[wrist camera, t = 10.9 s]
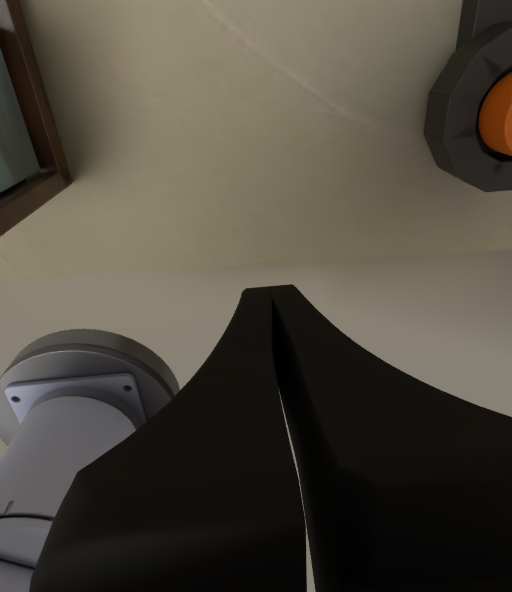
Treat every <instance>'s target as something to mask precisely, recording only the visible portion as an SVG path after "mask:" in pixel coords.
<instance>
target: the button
mask: <svg viewBox="0 0 512 592" xmlns="http://www.w3.org/2000/svg"><path fill="white" fill-rule="evenodd" d="M479 131H480V135H481V137H482V139H483V141H484V142H485V144H486V145H487V146H488V147H490V148H491V149H493V150H495V151H497V152H500V153H504V154H507V155H510V156H512V72H510V73H509V74H507V75H506V76H504V77H503V78H502V79H501V80H499V81H498V82H497V83H496V84H495V85H494V86H493V88H492V89H491V90H490V92H489V93H488V95H487V96H486V98H485V100H484V102H483V104H482V107H481V110H480V114H479Z"/></svg>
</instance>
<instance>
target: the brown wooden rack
mask: <svg viewBox="0 0 512 592" xmlns="http://www.w3.org/2000/svg"><path fill="white" fill-rule="evenodd" d="M71 184H72V181H71V178H70V174H69V171H68V168H67V164H66V161H65V157H64V154H63V151H62V147H61V144H60V140H59V137H58V134H57V130H56V127H55V123H54V120H53V117H52V113H51V110H50V107H49V103H48V100H47V96H46V93H45V90H44V86H43V83H42V79H41V76H40V73H39V69H38V66H37V62H36V59H35V56H34V52H33V49H32V45H31V42H30V39H29V35H28V32H27V28H26V25H25V22H24V18H23V15H22V12H21V8H20V5H19V1H18V0H0V236H2V235H3V234H4V233H6V232H7V231H9V230H10V229H11V228H13V227H14V226H15V225H17V224H18V223H19V222H21V221H22V220H23V219H25V218H26V217H27V216H29V215H30V214H31V213H33V212H34V211H36V210H37V209H38V208H40V207H41V206H42V205H44V204H45V203H46V202H48V201H49V200H50V199H52V198H53V197H54V196H56V195H57V194H59V193H60V192H61V191H63V190H64V189H65V188H67V187H68V186H70V185H71Z"/></svg>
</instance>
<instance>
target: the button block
mask: <svg viewBox="0 0 512 592" xmlns="http://www.w3.org/2000/svg"><path fill="white" fill-rule="evenodd" d="M510 72H512V0H463V5H462V11H461V18H460V25H459V32H458V39H457V45H456V51H455V52H454V53H453V54H452V56H451V57H450V59H449V61H448V62H447V64H446V66H445V67H444V69H443V71H442V72H441V74H440V75H439V77H438V79H437V80H436V82H435V84H434V85H433V87H432V89H431V90H430V92H429V95H428V103H427V111H426V119H425V128H424V137H425V139H426V141H427V144H428V146H429V148H430V151H431V153H432V155H433V158H434V160H435V162H436V165H437V166H438V167H439V168H440V169H442V170H444V171H446V172H447V173H449V174H451V175H453V176H454V177H456V178H458V179H460V180H462V181H463V182H465V183H467V184H470V185H472V186H474V187H476V188H478V189H480V190H482V191H484V192H495V191H506V190H512V156H510V155H507V154H504V153H500V152H497V151H495V150H493V149H491V148H490V147H488V146H487V145H486V144H485V142H484V141H483V139H482V137H481V135H480V131H479V114H480V110H481V107H482V104H483V102H484V100H485V98H486V96H487V95H488V93H489V92H490V90H491V89H492V88H493V86H494V85H495V84H496V83H497V82H498V81H499V80H501V79H502V78H503V77H504V76H506V75H507V74H509V73H510Z"/></svg>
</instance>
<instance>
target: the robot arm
mask: <svg viewBox="0 0 512 592" xmlns="http://www.w3.org/2000/svg"><path fill="white" fill-rule="evenodd" d="M126 385H128V386H131V387H126ZM278 388H279V389H278ZM279 392H280V394H279ZM5 395H6V397H7V399H8V401H9V403H10V404H11V406H12V408H13V410H14V412H15V414H16V416H17V418H18V420H19V422H20V424H21V425H20V427H19V429H18V431H17V432H16V434H15V436H14V437H13V439H12V441H11V443H10V444H9V446H8V448H7V449H6V451H5V453H4V455H3V456H2V458H1V460H0V592H307V580H306V579H307V577H306V526H307V533H308V540H309V547H310V554H311V561H312V568H313V576H314V583H315V590H316V592H512V417H510V416H507V415H504V414H501V413H498V412H495V411H492V410H489V409H486V408H483V407H480V406H478V405H475V404H473V403H470V402H468V401H465V400H463V399H460V398H458V397H456V396H453V395H451V394H448V393H446V392H443V391H441V390H439V389H437V388H435V387H433V386H430V385H428V384H426V383H424V382H422V381H420V380H418V379H416V378H414V377H412V376H410V375H408V374H406V373H404V372H402V371H401V370H399V369H397V368H395V367H393V366H392V365H390V364H388V363H386V362H384V361H383V360H381V359H380V358H378V357H376V356H375V355H373V354H372V353H370V352H369V351H367V350H366V349H364V348H363V347H361V346H360V345H358V344H357V343H355V342H354V341H353V340H351V339H350V338H349V337H347V336H346V335H345V334H344V333H342V332H341V331H340V330H339V329H338V328H337V327H335V326H334V325H333V324H332V323H331V322H330V321H329V320H328V319H327V318H325V317H324V316H323V315H322V314H321V313H320V312H319V311H318V310H317V309H316V308H315V307H314V306H313V305H312V304H311V303H310V302H309V301H308V300H307V299H306V298H305V297H304V296H303V294H302V293H301V292H300V291H299V290H298V289H297V288H296V287H295V286H294V285H292V284H291V285H280V286H269V287H258V288H246V289H245V290H244V291H243V292H242V294H241V298H240V301H239V304H238V306H237V309H236V311H235V313H234V315H233V317H232V319H231V321H230V323H229V325H228V327H227V329H226V330H225V332H224V334H223V336H222V337H221V339H220V340H219V342H218V343H217V345H216V347H215V348H214V350H213V351H212V353H211V354H210V355H209V357H208V358H207V360H206V361H205V362H204V364H203V365H202V366H201V368H200V369H199V370H198V371H197V373H196V374H195V375H194V376H193V377H192V378H191V380H190V381H189V382H188V383H187V384H186V385H185V386H184V387H183V388H182V389H181V390H180V391H179V392H178V394H177V395H176V396H175V397H174V398H173V399H172V400H171V401H170V402H169V403H168V404H167V405H166V406H164V407H163V408H162V409H161V410H160V411H159V412H158V413H157V414H155V415H154V416H153V417H152V418H151V419H150V420H148V421H147V419H146V415H145V412H144V408H143V405H142V401H141V398H140V394H139V391H138V387H137V384H136V380H135V377H134V376H133V375H132V374H130V373H117V374H106V375H96V376H85V377H75V378H64V379H54V380H43V381H33V382H23V383H12V384H9V385H8V386H7V387H6V389H5ZM15 396H17V397H19V398H17V397H15ZM280 396H281V399H280ZM281 400H282V404H283V408H284V412H285V416H286V420H287V424H288V428H289V432H290V436H291V441H292V445H293V449H294V453H295V457H296V462H297V467H298V472H299V478H300V485H301V492H302V499H303V505H304V511H305V517H304V511H303V505H302V499H301V492H300V486H299V480H298V476H297V471H296V467H295V463H294V459H293V455H292V450H291V446H290V442H289V438H288V433H287V428H286V424H285V419H284V415H283V410H282V404H281ZM305 519H306V526H305Z"/></svg>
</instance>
